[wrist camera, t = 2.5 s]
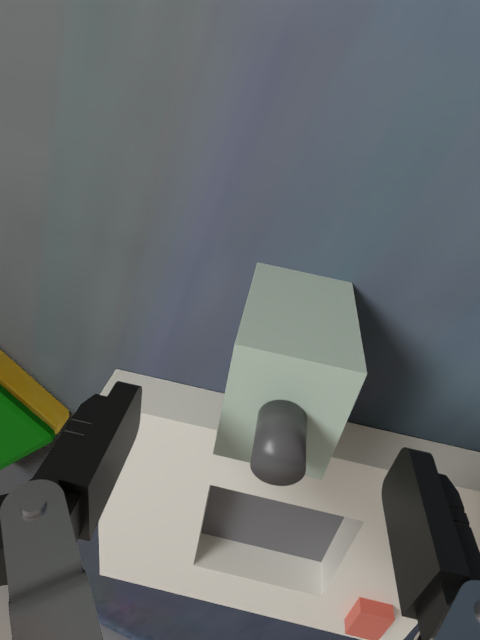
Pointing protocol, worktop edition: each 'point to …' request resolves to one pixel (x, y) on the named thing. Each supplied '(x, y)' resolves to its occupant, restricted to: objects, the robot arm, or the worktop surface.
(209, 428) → the socket plate
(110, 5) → the worktop surface
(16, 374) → the dish sponge
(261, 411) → the plug
